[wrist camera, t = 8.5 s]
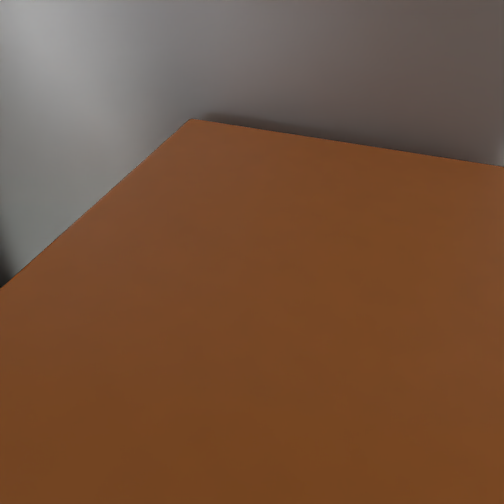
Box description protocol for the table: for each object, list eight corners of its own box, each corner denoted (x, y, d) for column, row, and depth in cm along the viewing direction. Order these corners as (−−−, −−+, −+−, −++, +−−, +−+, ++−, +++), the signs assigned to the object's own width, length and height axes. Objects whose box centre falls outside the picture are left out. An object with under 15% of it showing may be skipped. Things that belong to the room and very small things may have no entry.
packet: (411, 427, 12) (400, 1015, 6) (197, 370, 13) (-16, 805, 7) (517, 166, 8) (937, 1288, 1) (189, 116, 9) (-386, 626, 3)
